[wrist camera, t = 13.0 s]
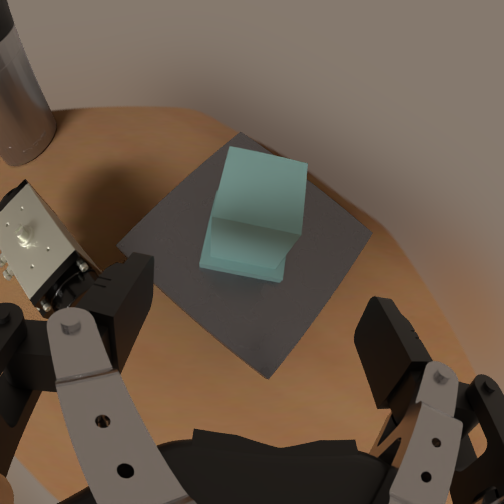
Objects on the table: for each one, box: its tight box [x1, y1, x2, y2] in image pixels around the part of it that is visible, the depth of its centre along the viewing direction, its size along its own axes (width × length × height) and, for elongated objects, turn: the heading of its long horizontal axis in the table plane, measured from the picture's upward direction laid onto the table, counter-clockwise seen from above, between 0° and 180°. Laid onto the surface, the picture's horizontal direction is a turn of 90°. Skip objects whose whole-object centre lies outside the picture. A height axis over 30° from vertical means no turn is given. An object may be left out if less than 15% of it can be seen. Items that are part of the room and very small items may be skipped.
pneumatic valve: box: [0, 179, 102, 319], centre depth 21 cm, size 6×12×12 cm, turn 49°
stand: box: [116, 132, 372, 379], centre depth 27 cm, size 16×16×5 cm
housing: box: [199, 146, 308, 283], centre depth 21 cm, size 6×7×8 cm
